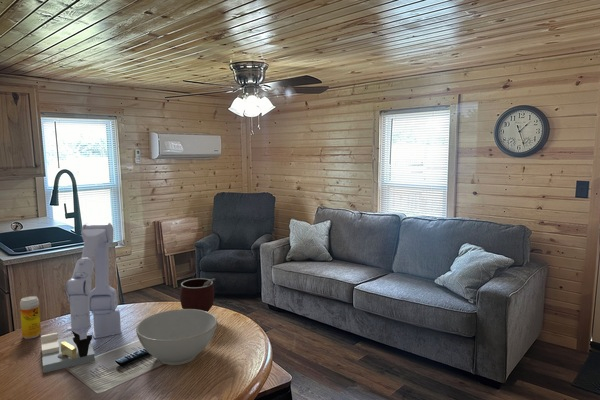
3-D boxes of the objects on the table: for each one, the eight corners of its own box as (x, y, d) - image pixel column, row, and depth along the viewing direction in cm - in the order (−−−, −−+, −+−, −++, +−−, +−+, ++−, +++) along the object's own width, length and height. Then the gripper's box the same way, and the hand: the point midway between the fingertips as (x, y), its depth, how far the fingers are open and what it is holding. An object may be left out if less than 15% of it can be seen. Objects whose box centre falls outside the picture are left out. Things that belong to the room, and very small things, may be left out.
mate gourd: (173, 326, 170) (172, 278, 168) (193, 314, 183) (192, 270, 181) (206, 332, 165) (205, 283, 163) (224, 319, 178) (223, 273, 176)
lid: (57, 341, 150) (57, 332, 150) (59, 351, 143) (58, 341, 143) (41, 345, 147) (40, 335, 147) (42, 354, 140) (41, 344, 140)
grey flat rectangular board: (88, 339, 158) (88, 333, 157) (94, 360, 142) (94, 353, 142) (41, 349, 150) (41, 342, 149) (43, 373, 134) (42, 365, 134)
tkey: (77, 360, 137) (76, 347, 136) (71, 362, 135) (71, 349, 135) (66, 352, 142) (65, 340, 141) (60, 354, 140) (59, 342, 140)
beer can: (32, 340, 157) (29, 301, 155) (18, 338, 158) (15, 300, 156) (44, 333, 163) (42, 296, 161) (31, 331, 164) (29, 295, 162)
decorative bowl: (119, 367, 138) (117, 332, 136) (172, 334, 163) (171, 304, 161) (186, 384, 128) (185, 346, 127) (231, 346, 153) (231, 315, 151)
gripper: (65, 308, 143) (67, 346, 145) (68, 323, 131) (70, 364, 133) (87, 304, 147) (89, 341, 149) (93, 318, 135) (95, 358, 136)
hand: (82, 351), depth 141 cm, fingers open, 7 cm apart
